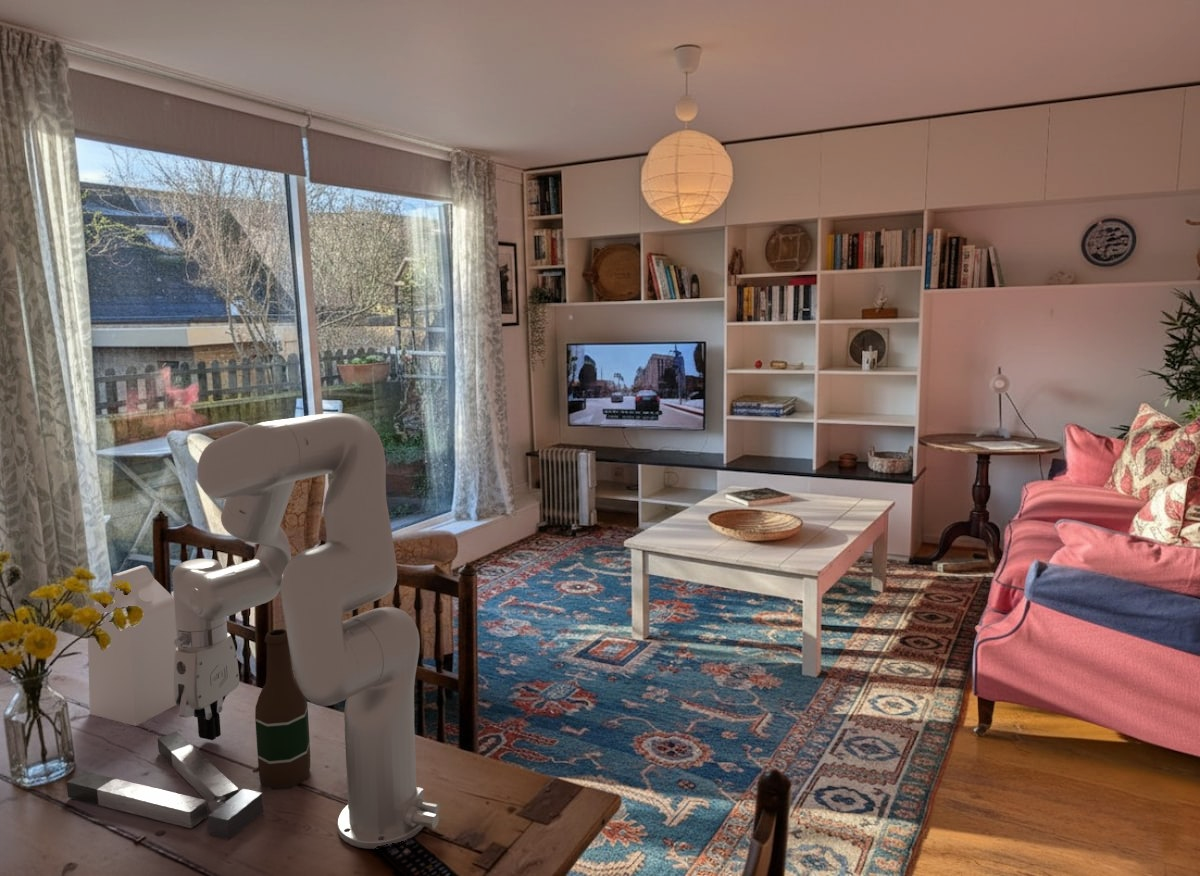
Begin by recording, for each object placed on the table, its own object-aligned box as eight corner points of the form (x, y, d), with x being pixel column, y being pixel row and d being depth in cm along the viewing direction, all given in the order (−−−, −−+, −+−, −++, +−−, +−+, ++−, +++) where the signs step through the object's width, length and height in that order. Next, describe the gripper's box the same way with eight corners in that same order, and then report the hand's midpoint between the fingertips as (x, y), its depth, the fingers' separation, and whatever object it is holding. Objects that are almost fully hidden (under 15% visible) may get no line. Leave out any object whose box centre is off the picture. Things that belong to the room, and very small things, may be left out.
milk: (147, 686, 160) (136, 557, 156) (191, 696, 156) (181, 564, 152) (89, 714, 149) (76, 576, 145) (135, 726, 145) (123, 584, 141)
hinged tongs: (263, 811, 120) (262, 793, 120) (229, 839, 114) (227, 820, 113) (107, 774, 129) (106, 757, 129) (68, 799, 123) (66, 780, 123)
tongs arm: (245, 809, 120) (244, 794, 120) (213, 824, 117) (212, 807, 116) (177, 745, 138) (176, 731, 137) (148, 755, 134) (147, 741, 134)
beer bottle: (294, 794, 125) (285, 644, 121) (248, 787, 126) (238, 640, 122) (321, 766, 132) (313, 624, 128) (277, 760, 134) (269, 620, 130)
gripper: (184, 654, 128) (193, 763, 131) (252, 620, 142) (259, 719, 145) (147, 648, 130) (156, 755, 133) (218, 615, 144) (224, 712, 147)
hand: (209, 736), depth 139 cm, fingers closed
